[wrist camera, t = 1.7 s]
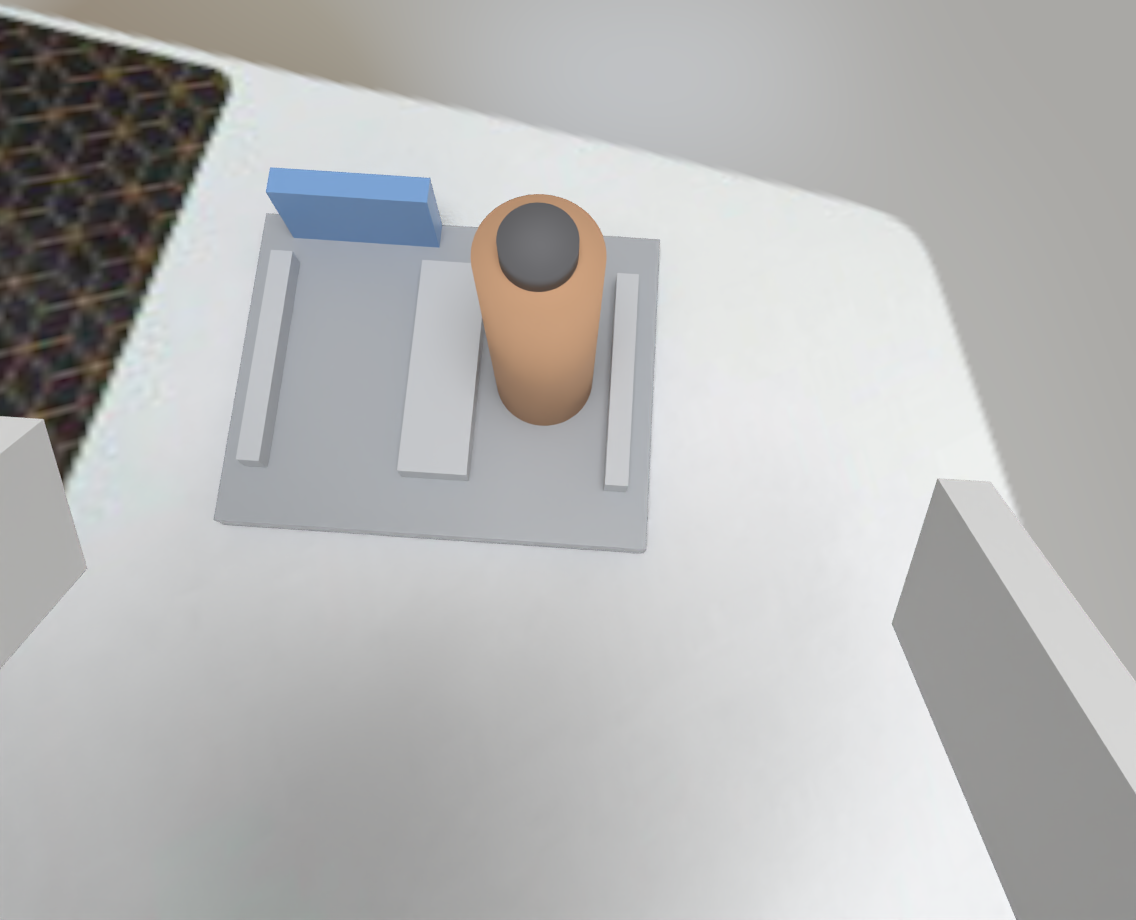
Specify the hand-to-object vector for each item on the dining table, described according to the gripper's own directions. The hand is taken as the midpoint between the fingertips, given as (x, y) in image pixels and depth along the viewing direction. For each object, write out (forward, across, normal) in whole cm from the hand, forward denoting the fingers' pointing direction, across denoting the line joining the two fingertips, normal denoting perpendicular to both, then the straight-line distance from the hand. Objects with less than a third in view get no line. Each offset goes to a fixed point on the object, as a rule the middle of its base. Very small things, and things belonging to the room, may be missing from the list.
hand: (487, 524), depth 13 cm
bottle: (+25, 0, -9) cm, 27 cm away
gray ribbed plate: (+26, -5, -10) cm, 28 cm away
